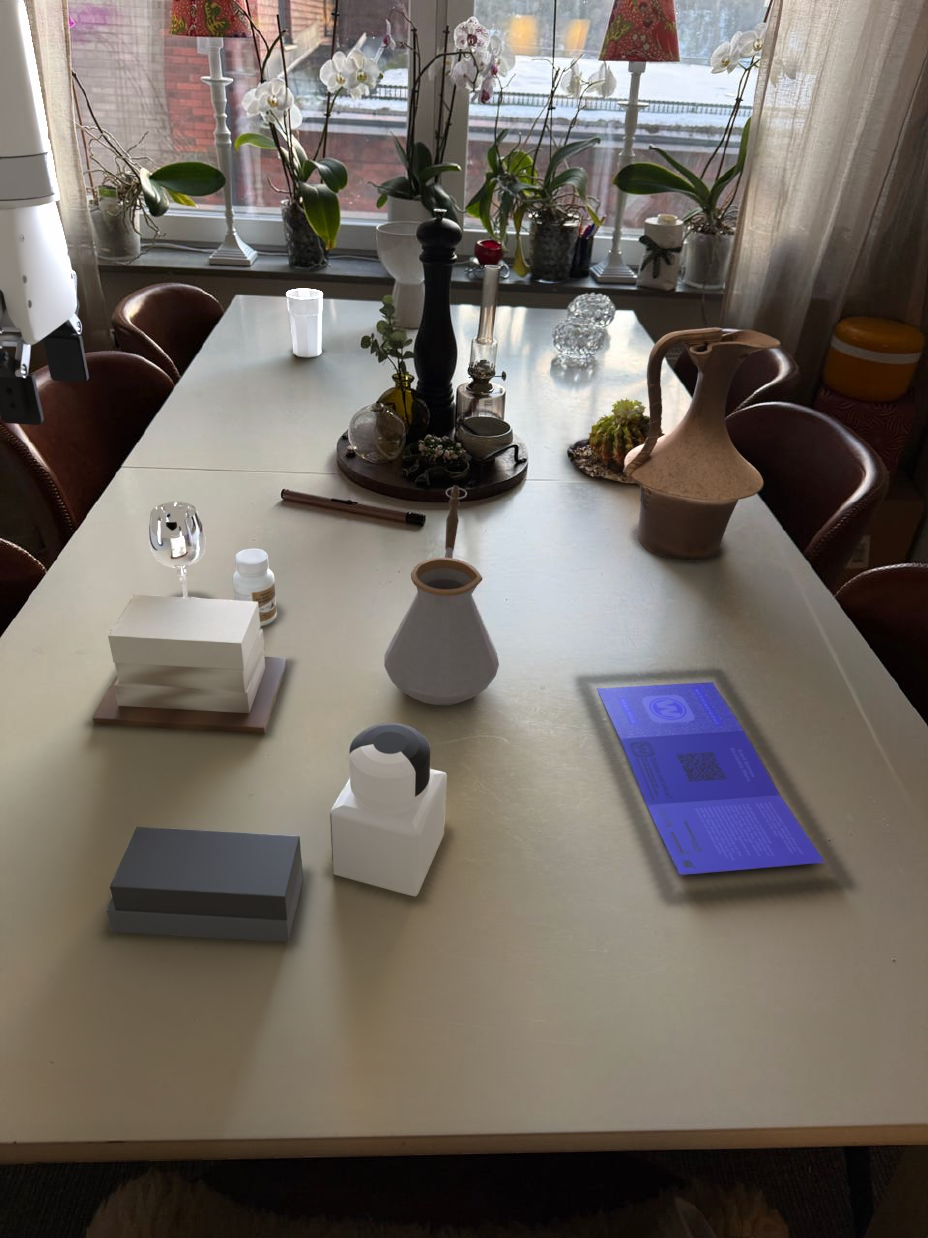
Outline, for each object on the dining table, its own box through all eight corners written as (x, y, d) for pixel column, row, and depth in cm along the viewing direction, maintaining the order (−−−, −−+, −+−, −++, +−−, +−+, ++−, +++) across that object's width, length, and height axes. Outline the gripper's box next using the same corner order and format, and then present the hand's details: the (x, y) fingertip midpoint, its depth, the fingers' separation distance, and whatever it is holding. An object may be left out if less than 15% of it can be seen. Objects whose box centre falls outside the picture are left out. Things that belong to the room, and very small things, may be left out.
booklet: (712, 682, 97) (713, 676, 97) (822, 868, 77) (825, 862, 76) (596, 688, 95) (597, 683, 95) (678, 881, 75) (679, 875, 74)
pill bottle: (265, 631, 101) (259, 570, 97) (229, 623, 102) (222, 561, 98) (284, 611, 105) (280, 550, 100) (249, 602, 106) (243, 542, 101)
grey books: (111, 933, 68) (100, 887, 66) (138, 869, 73) (128, 824, 71) (288, 943, 68) (284, 898, 66) (303, 879, 73) (300, 834, 71)
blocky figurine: (365, 813, 80) (363, 703, 73) (445, 834, 78) (450, 723, 71) (331, 876, 74) (326, 762, 67) (417, 899, 72) (420, 786, 66)
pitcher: (636, 580, 114) (675, 352, 98) (592, 515, 128) (620, 306, 112) (768, 570, 117) (826, 348, 102) (711, 508, 131) (755, 304, 115)
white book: (113, 662, 86) (107, 635, 84) (137, 620, 91) (133, 594, 90) (244, 670, 86) (241, 643, 84) (260, 627, 91) (258, 601, 90)
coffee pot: (495, 723, 90) (506, 591, 82) (376, 714, 90) (375, 582, 82) (501, 604, 108) (510, 485, 100) (402, 597, 108) (403, 478, 100)
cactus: (549, 445, 147) (555, 384, 141) (640, 436, 151) (649, 378, 146) (595, 492, 133) (604, 428, 128) (693, 482, 138) (706, 419, 132)
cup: (309, 360, 174) (306, 300, 168) (282, 353, 177) (278, 293, 171) (332, 352, 179) (330, 293, 173) (305, 344, 182) (302, 286, 176)
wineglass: (194, 627, 101) (181, 529, 95) (149, 615, 103) (133, 517, 96) (223, 600, 106) (212, 505, 99) (180, 589, 107) (166, 495, 101)
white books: (93, 726, 87) (82, 674, 84) (132, 656, 96) (123, 607, 93) (265, 736, 87) (260, 685, 84) (287, 665, 96) (283, 617, 93)
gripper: (2, 158, 76) (45, 364, 86) (-114, 196, 62) (-47, 438, 71) (94, 163, 76) (127, 368, 86) (0, 202, 62) (51, 444, 71)
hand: (48, 400), depth 79 cm, fingers open, 9 cm apart
